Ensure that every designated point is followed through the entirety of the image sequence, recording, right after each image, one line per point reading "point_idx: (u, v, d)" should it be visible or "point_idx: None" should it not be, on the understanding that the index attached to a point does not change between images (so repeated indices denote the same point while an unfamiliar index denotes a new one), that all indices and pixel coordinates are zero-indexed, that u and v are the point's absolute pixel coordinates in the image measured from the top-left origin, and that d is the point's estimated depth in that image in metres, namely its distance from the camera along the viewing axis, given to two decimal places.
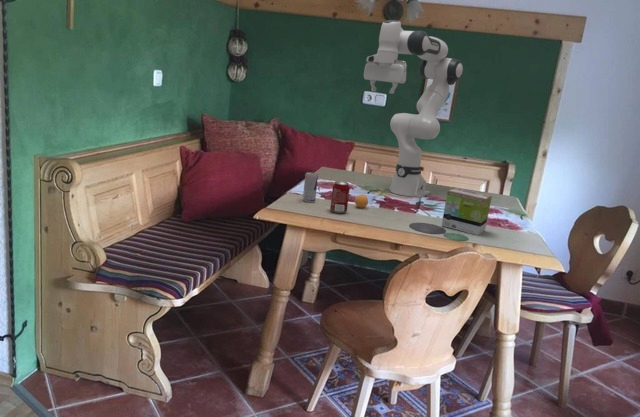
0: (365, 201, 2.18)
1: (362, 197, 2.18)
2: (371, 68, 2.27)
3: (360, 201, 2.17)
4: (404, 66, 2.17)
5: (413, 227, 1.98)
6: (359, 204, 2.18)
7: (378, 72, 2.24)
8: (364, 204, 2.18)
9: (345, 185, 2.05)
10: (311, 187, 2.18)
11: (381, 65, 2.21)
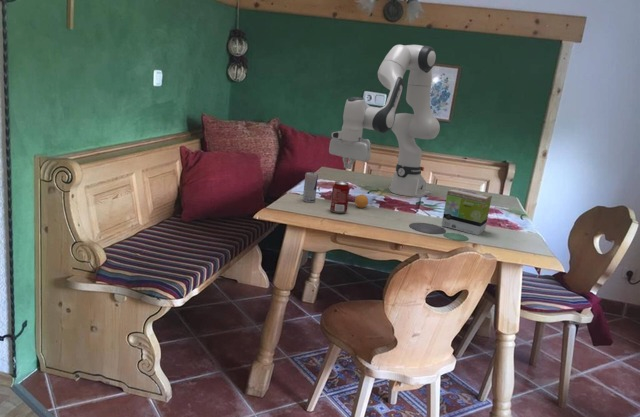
0: (365, 201, 2.18)
1: (362, 197, 2.18)
2: (336, 144, 2.24)
3: (360, 201, 2.17)
4: (368, 145, 2.14)
5: (413, 227, 1.98)
6: (359, 204, 2.18)
7: (343, 149, 2.21)
8: (364, 204, 2.18)
9: (345, 185, 2.05)
10: (311, 187, 2.18)
11: (345, 142, 2.18)
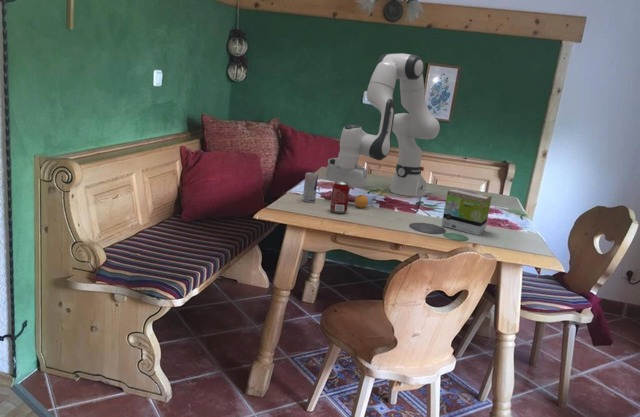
0: (365, 201, 2.18)
1: (362, 197, 2.18)
2: (332, 170, 2.26)
3: (360, 201, 2.17)
4: (364, 173, 2.17)
5: (413, 227, 1.98)
6: (359, 204, 2.18)
7: (339, 175, 2.23)
8: (364, 204, 2.18)
9: (345, 185, 2.05)
10: (311, 187, 2.18)
11: (342, 169, 2.21)
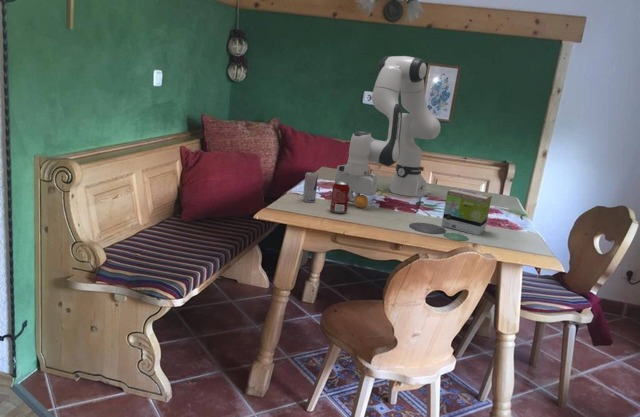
0: (365, 201, 2.18)
1: (362, 197, 2.18)
2: (341, 177, 2.24)
3: (360, 201, 2.17)
4: (373, 180, 2.14)
5: (413, 227, 1.98)
6: (359, 204, 2.18)
7: (349, 182, 2.21)
8: (364, 204, 2.18)
9: (345, 185, 2.05)
10: (311, 187, 2.18)
11: (351, 176, 2.18)
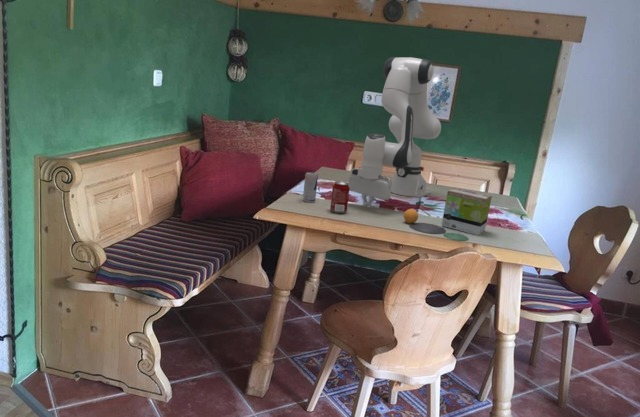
0: None
1: (409, 222, 2.03)
2: (355, 180, 2.19)
3: (405, 219, 2.03)
4: (388, 184, 2.09)
5: (413, 227, 1.98)
6: (404, 216, 2.03)
7: (362, 186, 2.16)
8: None
9: (345, 185, 2.05)
10: (311, 187, 2.18)
11: (365, 180, 2.14)
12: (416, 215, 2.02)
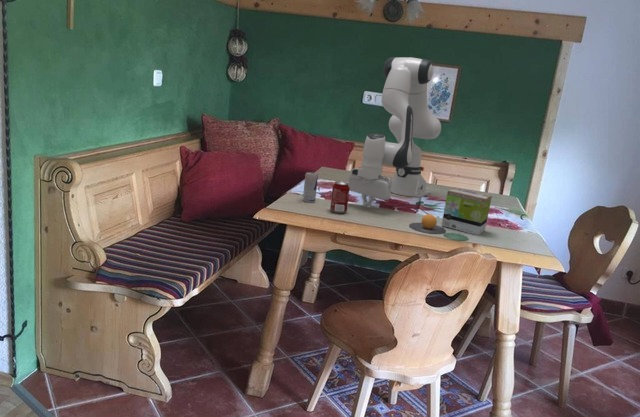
0: (431, 215, 1.97)
1: (425, 215, 1.98)
2: (355, 180, 2.19)
3: (427, 218, 1.96)
4: (388, 184, 2.09)
5: (413, 227, 1.98)
6: (429, 222, 1.96)
7: (362, 186, 2.16)
8: (433, 218, 1.96)
9: (345, 185, 2.05)
10: (311, 187, 2.18)
11: (365, 180, 2.14)
12: None
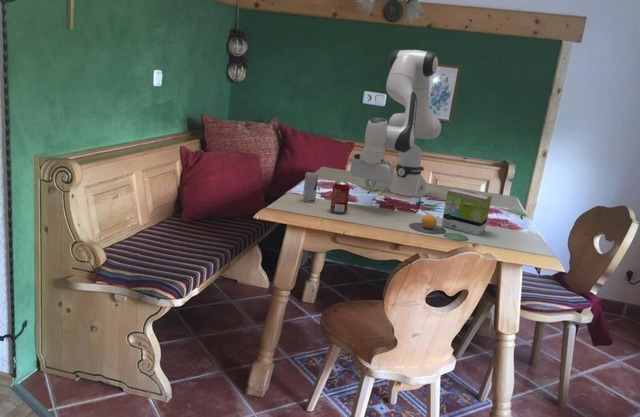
0: (431, 215, 1.97)
1: (425, 215, 1.98)
2: (357, 165, 2.18)
3: (427, 218, 1.96)
4: (391, 168, 2.08)
5: (413, 227, 1.98)
6: (429, 222, 1.96)
7: (365, 170, 2.15)
8: (433, 218, 1.96)
9: (345, 185, 2.05)
10: (311, 187, 2.18)
11: (367, 164, 2.12)
12: None
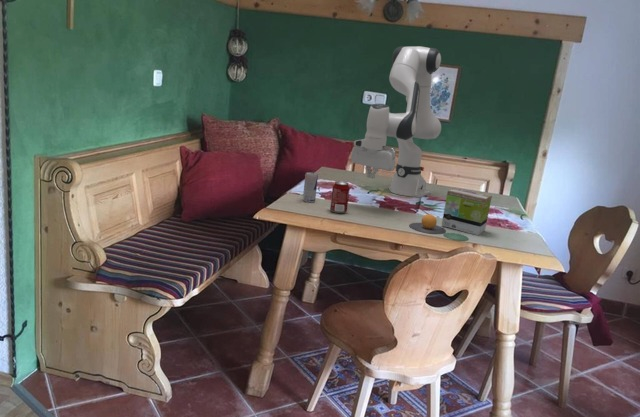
0: (431, 215, 1.97)
1: (425, 215, 1.98)
2: (358, 152, 2.16)
3: (427, 218, 1.96)
4: (392, 154, 2.07)
5: (413, 227, 1.98)
6: (429, 222, 1.96)
7: (366, 157, 2.13)
8: (433, 218, 1.96)
9: (345, 185, 2.05)
10: (311, 187, 2.18)
11: (369, 151, 2.11)
12: None
